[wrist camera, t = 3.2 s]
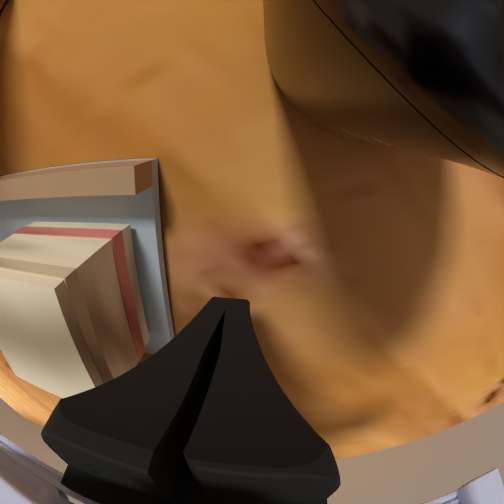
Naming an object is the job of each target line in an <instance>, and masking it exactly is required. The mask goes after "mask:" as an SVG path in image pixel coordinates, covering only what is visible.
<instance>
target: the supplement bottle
mask: <svg viewBox="0 0 504 504" xmlns="http://www.w3.org/2000/svg"><path fill="white" fill-rule="evenodd" d="M263 8H264V30H265V45H266V54H267V59H268V63H269V66H270V69H271V72H272V74H273V76H274V78H275V81H276V82H277V84H278V86H279V88H280V89H281V91H282V92H283V94H284V95H285V96H286V98H287V99H288V100H289V101H290V102H291V103H292V104H293V105H294V107H295V108H296V109H297V110H299V111H300V112H301V113H302V114H303V115H304V116H306V117H307V118H308V119H310V120H311V121H312V122H314V123H316V124H317V125H319V126H321V127H323V128H324V129H326V130H328V131H331V132H333V133H335V134H338V135H341V136H344V137H347V138H351V139H355V140H360V141H364V142H370V143H376V144H381V145H386V146H391V147H396V148H401V149H406V150H410V151H415V152H419V153H423V154H427V155H431V156H435V157H439V158H442V159H446V160H450V161H453V162H457V163H460V164H463V165H466V166H470V167H473V168H476V169H479V170H482V171H485V172H488V173H491V174H494V175H496V176H499V177H502V178H504V0H263Z"/></svg>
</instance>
